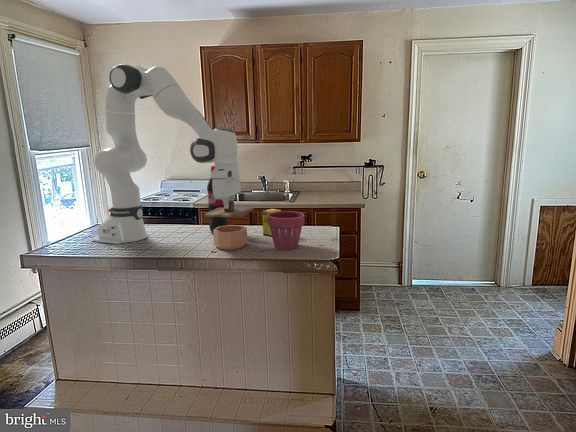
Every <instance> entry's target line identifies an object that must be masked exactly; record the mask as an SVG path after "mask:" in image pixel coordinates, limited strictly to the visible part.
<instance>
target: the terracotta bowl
mask: <svg viewBox="0 0 576 432" xmlns="http://www.w3.org/2000/svg"><path fill="white" fill-rule="evenodd" d="M247 229H248V228H247V226H244V225H242V224H241V225H239V224H229V225H226V226H219V227H217V228H215V229H213V233H212V234H213V244H214V246H216V248H217V249H219V250H223V251H225V250H226V251H232V250H239V249H242V248H244V247H245V246H246V244H247V243H248V230H247Z"/></svg>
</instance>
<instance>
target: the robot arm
mask: <svg viewBox="0 0 576 432" xmlns="http://www.w3.org/2000/svg"><path fill="white" fill-rule="evenodd" d="M108 75H109V76H108V77H109V78H108V79H109V83H110V85H109V86H108V87H107V89H106V93H105V94H106V95H105V130H106V132H107V134H108V135H109V136H110V137H111V139H112V140H113V143H114V147H107V148H104V149H101V150H99V151H98V152H97V153H96V154H95V156H94V160H93V162H94V167H95V168H96V170H97V171H98V172H99V173H100V174H101V175H102V176H104V179H105V180H106V182H107V184H108V187H109V190H110V196H111V201H112V202H111V203H112V207H110V208H107V213H110V214H109V216H108V217H107V218H106V219H105V220H103V222H101V223H100V224H99V226H98V227H97V235H96V236H93V238H92V242H97V243H99V242H100V243H107V244H114V245H118V244H124V243H131V242H137V241H142V240H145V239H146V238H148V237H149V236H148V233H147V231H146V226H145V223H144V219H143V215H144V214H143V213H144V212H143V205H142V204H141V203H142V202H141V194H140V188H139V186H138V185H137V184H136V183H135V182H134V180H133V178H132V176H131V173H135V172H138V171H140V170H142V169H143V168H145V166H146V165H147V161H148V158H147V154H146V152H144V150H143V149H142V148H141V145H140V143H139V139H138V135H137V129H136V108H135V107H136V105H135V104H136V101H137V99H138V98H139V99H140V100H143V99H147V98H149V97H152V99H153V100H154V102H155V103H156V104H157V106H158V107H159V109H160V110H161V111H162V112H163V113H164V114H165V115H166V116H168V117H170V118H172V119H175V120H178V121H181V122H184V123H185V124H187V125H189V126H190V127H191V128H192V130H194V132H195V133H196V134H197V135H198V138H195V139H193V141H191V144H190V147H189V153H190V156H191V158H192V159H193V161H195V162H197V163H200V164H208V163H214V166H215V168H214V170H213V171H212V172H211V171H210V178H212V179H213V180H212V188H213V195H214V198H215V199H222V201H223V204H224V208H225V209H228V208H230V204H229V202H228V200H234V201H235V198H236V197H235V195H237V194H239V193H241V191H242V184H241V177H240V172H239V161H238V141H237V136H236V132H235V131H234V130H232V129H230V128H225V127H216V128H213V127H212V126H211V125H210V124H209V122H208V121H207V120H206V118H205V117H204V115H202V113H201V112H200V111H199V110H198V108H197V107H196V106H195V105H194V103H193V102H192V101H191V100H190V98H189V97H188V96H187V95H186V93H185V92H184V90H183V88H182V87H181V86H180V84H179V83H178V82H177V80H176V79H175V78H174V76H173V75H172V74H171V73H170V72H169V71H168V70H167V69H166V68H164V67H163V66H158V65H157V66H153V67H151V68H149V69H148V68H146V67H143V66H140V65H131V64H130V65H129V64H127V63H120V64H115V65H114V66H113V67H112V68H111V69H110V71H109V74H108Z"/></svg>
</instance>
